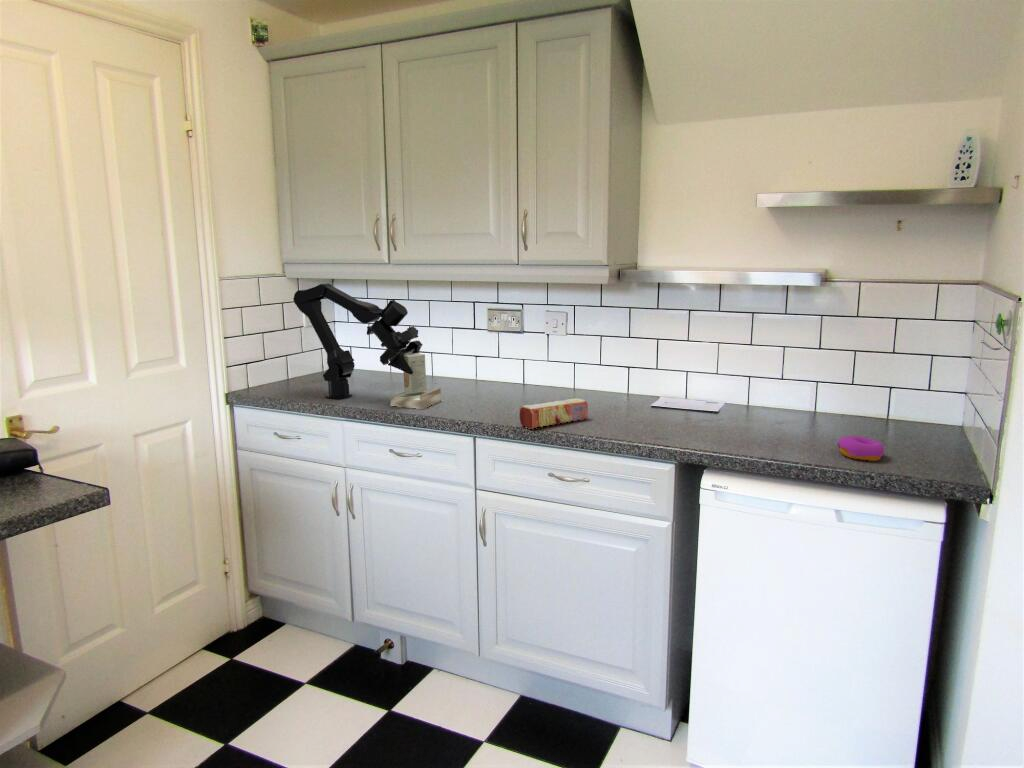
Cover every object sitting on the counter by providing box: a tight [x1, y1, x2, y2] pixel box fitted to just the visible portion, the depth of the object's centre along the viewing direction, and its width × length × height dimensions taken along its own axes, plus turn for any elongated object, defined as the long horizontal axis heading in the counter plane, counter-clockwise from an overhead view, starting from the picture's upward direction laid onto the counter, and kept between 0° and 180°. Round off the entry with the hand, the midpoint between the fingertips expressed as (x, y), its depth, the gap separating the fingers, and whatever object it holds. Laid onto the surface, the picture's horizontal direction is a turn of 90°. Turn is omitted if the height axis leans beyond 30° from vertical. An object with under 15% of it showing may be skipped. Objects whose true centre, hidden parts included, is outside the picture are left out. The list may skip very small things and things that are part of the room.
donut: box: [837, 435, 885, 462], centre depth 170 cm, size 10×10×5 cm
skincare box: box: [402, 352, 427, 393], centre depth 227 cm, size 6×4×12 cm
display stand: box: [389, 387, 442, 410], centre depth 228 cm, size 12×12×4 cm
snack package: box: [519, 397, 589, 430], centre depth 203 cm, size 21×7×7 cm, turn 124°
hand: (418, 371), depth 226 cm, fingers closed on skincare box, 7 cm apart
